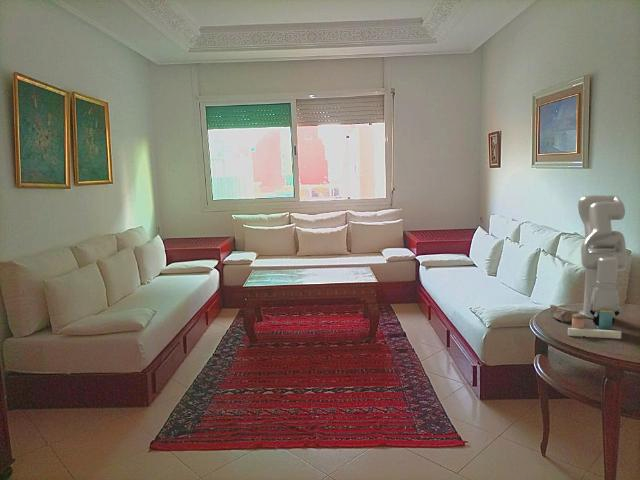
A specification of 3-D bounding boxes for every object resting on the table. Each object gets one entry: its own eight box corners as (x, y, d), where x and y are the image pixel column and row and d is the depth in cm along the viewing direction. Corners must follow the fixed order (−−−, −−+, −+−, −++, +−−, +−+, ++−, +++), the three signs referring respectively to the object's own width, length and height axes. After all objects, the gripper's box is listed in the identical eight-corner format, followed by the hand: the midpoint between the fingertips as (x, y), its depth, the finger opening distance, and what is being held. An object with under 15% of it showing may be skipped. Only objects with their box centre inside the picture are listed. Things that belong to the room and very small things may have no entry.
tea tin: (598, 330, 214) (599, 310, 212) (594, 324, 221) (595, 304, 219) (611, 331, 213) (613, 310, 211) (607, 325, 220) (608, 305, 218)
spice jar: (569, 330, 216) (570, 313, 215) (583, 331, 215) (584, 313, 214) (572, 334, 211) (573, 316, 210) (585, 335, 210) (586, 317, 209)
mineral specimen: (545, 319, 232) (546, 306, 231) (551, 315, 237) (552, 303, 236) (574, 325, 223) (575, 311, 222) (579, 320, 228) (580, 308, 227)
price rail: (567, 334, 212) (568, 327, 211) (620, 337, 206) (620, 330, 206) (568, 335, 210) (568, 329, 210) (621, 338, 205) (621, 332, 204)
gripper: (625, 283, 214) (622, 323, 218) (582, 282, 219) (579, 320, 223) (631, 288, 207) (627, 329, 211) (586, 287, 212) (583, 326, 215)
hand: (603, 324), depth 217 cm, fingers closed on tea tin, 5 cm apart
